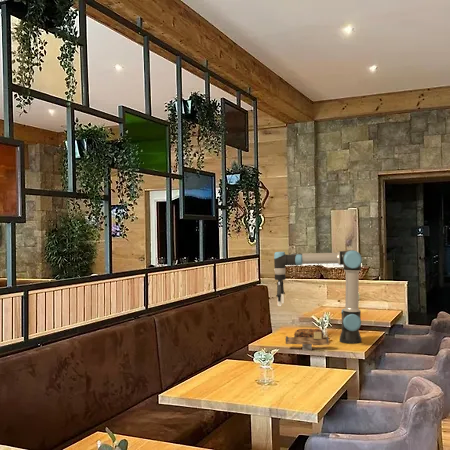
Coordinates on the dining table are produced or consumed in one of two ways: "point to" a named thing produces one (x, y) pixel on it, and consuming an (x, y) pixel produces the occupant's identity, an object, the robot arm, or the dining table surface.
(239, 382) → the dining table surface
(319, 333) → the block
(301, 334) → the bread
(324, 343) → the beam
